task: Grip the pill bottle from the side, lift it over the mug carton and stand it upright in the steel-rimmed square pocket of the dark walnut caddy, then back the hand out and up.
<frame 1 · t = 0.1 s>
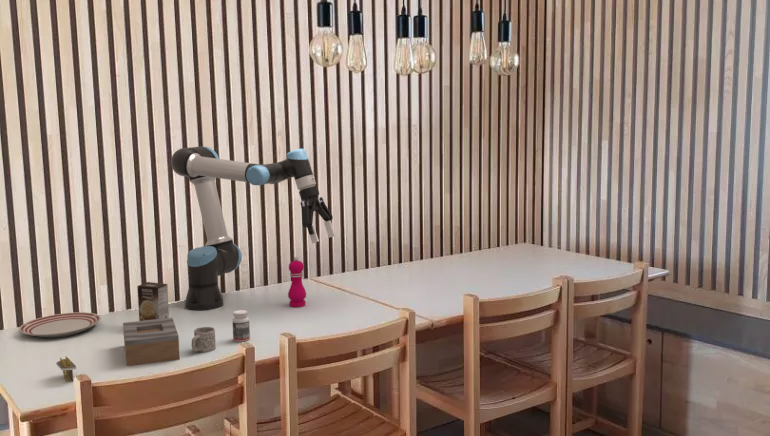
hand: (324, 239, 292), 28 cm above the table, tool tilted 20°, fingers open, 13 cm apart
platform: (66, 380, 222), on the table
coffee box: (154, 327, 274), on the table
mug: (202, 351, 246), on the table
caddy: (151, 352, 245), on the table
pepper mill: (297, 305, 302), on the table
dinner plate: (61, 331, 272), on the table
pill bottle: (241, 340, 258), on the table
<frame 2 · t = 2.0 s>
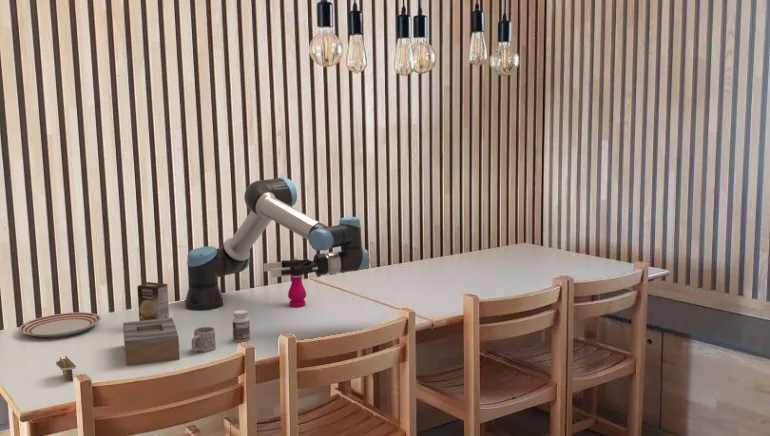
hand: (267, 270, 259), 23 cm above the table, tool horizontal, fingers open, 13 cm apart
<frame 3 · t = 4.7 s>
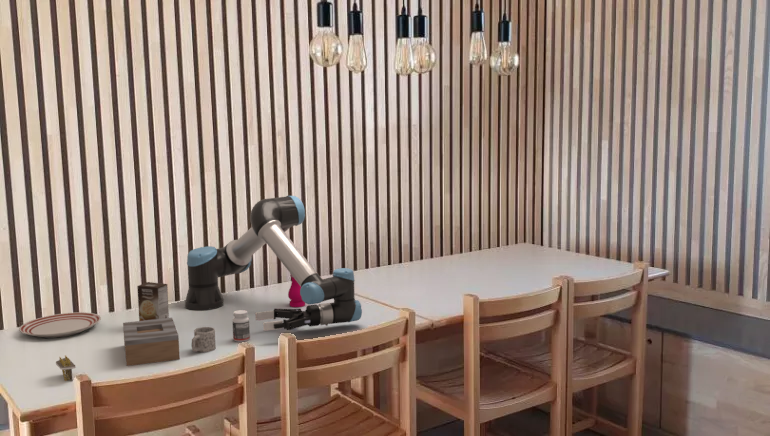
hand: (259, 321, 259), 6 cm above the table, tool horizontal, fingers open, 13 cm apart
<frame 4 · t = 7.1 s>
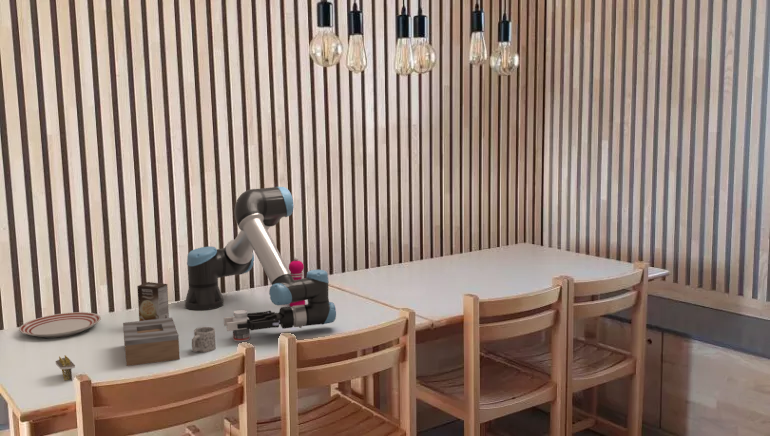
hand: (225, 324, 255), 6 cm above the table, tool horizontal, fingers closed on pill bottle, 6 cm apart
pill bottle: (241, 340, 258), on the table, touching gripper
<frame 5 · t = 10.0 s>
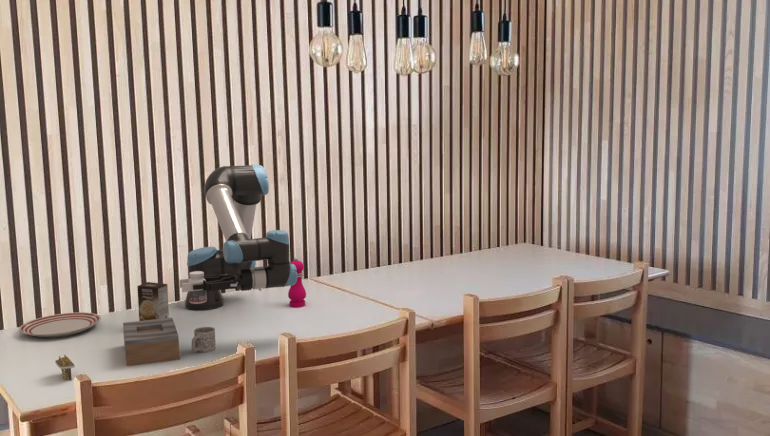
hand: (181, 285, 244), 22 cm above the table, tool horizontal, fingers closed on pill bottle, 6 cm apart
pill bottle: (198, 302, 247), point 16 cm above the table, touching gripper
when the fingers open (14 cm above the table, at t = 13.2 s): pill bottle drops 1 cm, resting on caddy.
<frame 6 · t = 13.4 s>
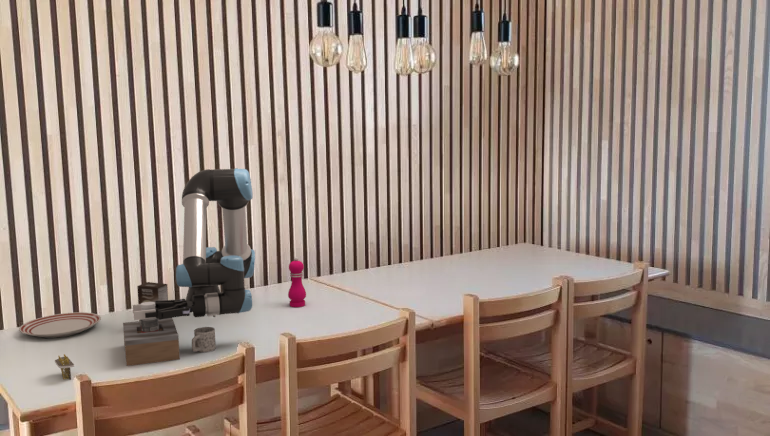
hand: (133, 312, 242), 14 cm above the table, tool horizontal, fingers open, 8 cm apart
pill bottle: (150, 333, 244), point 6 cm above the table, touching caddy
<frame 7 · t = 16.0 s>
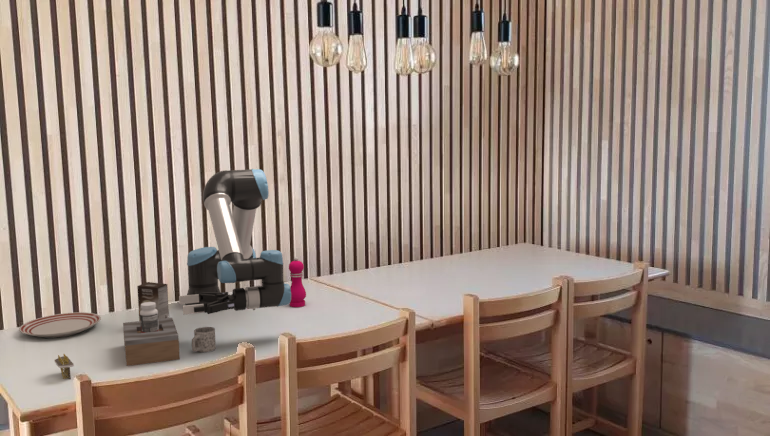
hand: (180, 305, 247), 15 cm above the table, tool horizontal, fingers open, 13 cm apart
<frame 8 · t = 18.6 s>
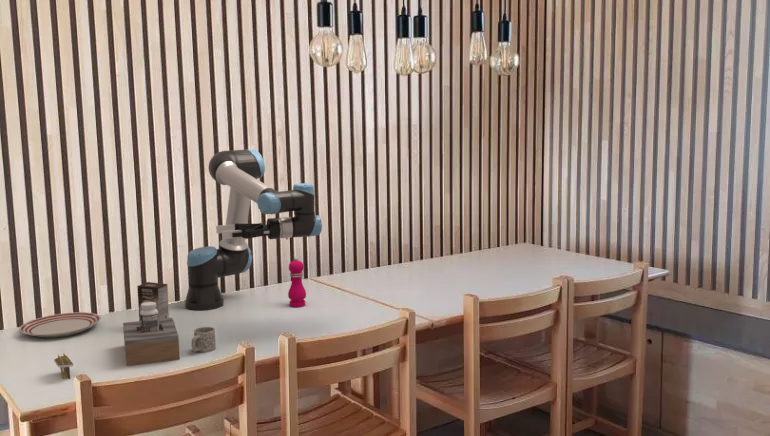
hand: (219, 232, 262), 36 cm above the table, tool horizontal, fingers open, 13 cm apart
at the end: pill bottle 0.0 cm off-centre on the caddy, point 6.3 cm above the caddy's base; pill bottle tilted 0°; the gripper is holding nothing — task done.
